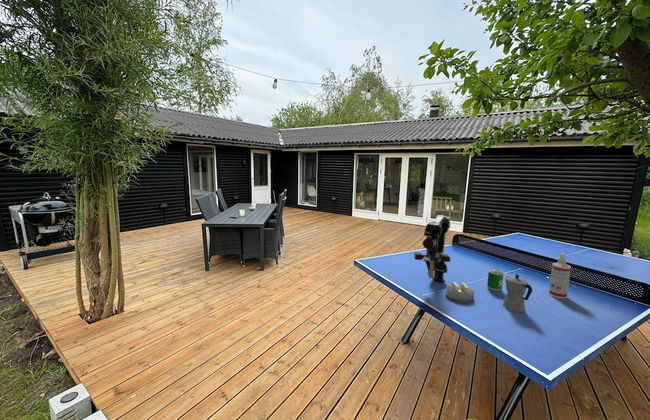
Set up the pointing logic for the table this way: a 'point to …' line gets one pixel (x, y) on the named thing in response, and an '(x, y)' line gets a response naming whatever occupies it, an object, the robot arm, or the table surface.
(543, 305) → the table surface
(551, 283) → the white squeeze bottle
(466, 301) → the blue-grey bowl
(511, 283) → the coffeepot
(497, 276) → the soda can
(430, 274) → the tall brown wooden block
